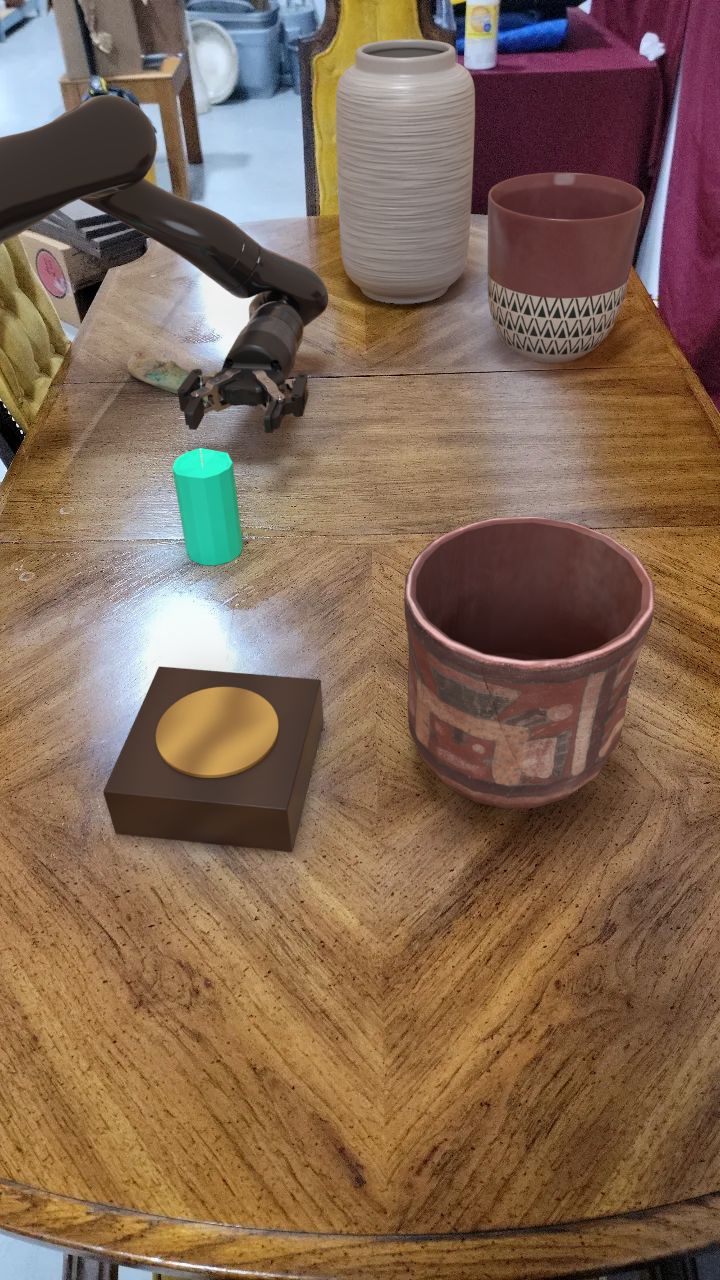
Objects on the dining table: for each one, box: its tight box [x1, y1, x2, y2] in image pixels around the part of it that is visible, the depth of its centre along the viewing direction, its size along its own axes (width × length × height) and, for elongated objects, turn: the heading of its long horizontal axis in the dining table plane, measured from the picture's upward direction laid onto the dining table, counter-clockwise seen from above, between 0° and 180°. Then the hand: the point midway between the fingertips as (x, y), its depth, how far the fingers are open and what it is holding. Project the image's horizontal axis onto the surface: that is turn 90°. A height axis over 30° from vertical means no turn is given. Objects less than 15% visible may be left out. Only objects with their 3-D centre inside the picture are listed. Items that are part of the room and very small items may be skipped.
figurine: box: [126, 350, 222, 403], centre depth 133 cm, size 6×15×4 cm, turn 49°
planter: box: [487, 172, 646, 365], centre depth 132 cm, size 20×20×21 cm
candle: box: [171, 447, 244, 566], centre depth 102 cm, size 6×6×12 cm
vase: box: [335, 38, 476, 305], centre depth 148 cm, size 20×20×34 cm
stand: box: [102, 666, 325, 853], centre depth 79 cm, size 14×14×5 cm
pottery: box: [403, 515, 656, 810], centre depth 76 cm, size 18×18×18 cm
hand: (229, 424), depth 107 cm, fingers open, 8 cm apart
